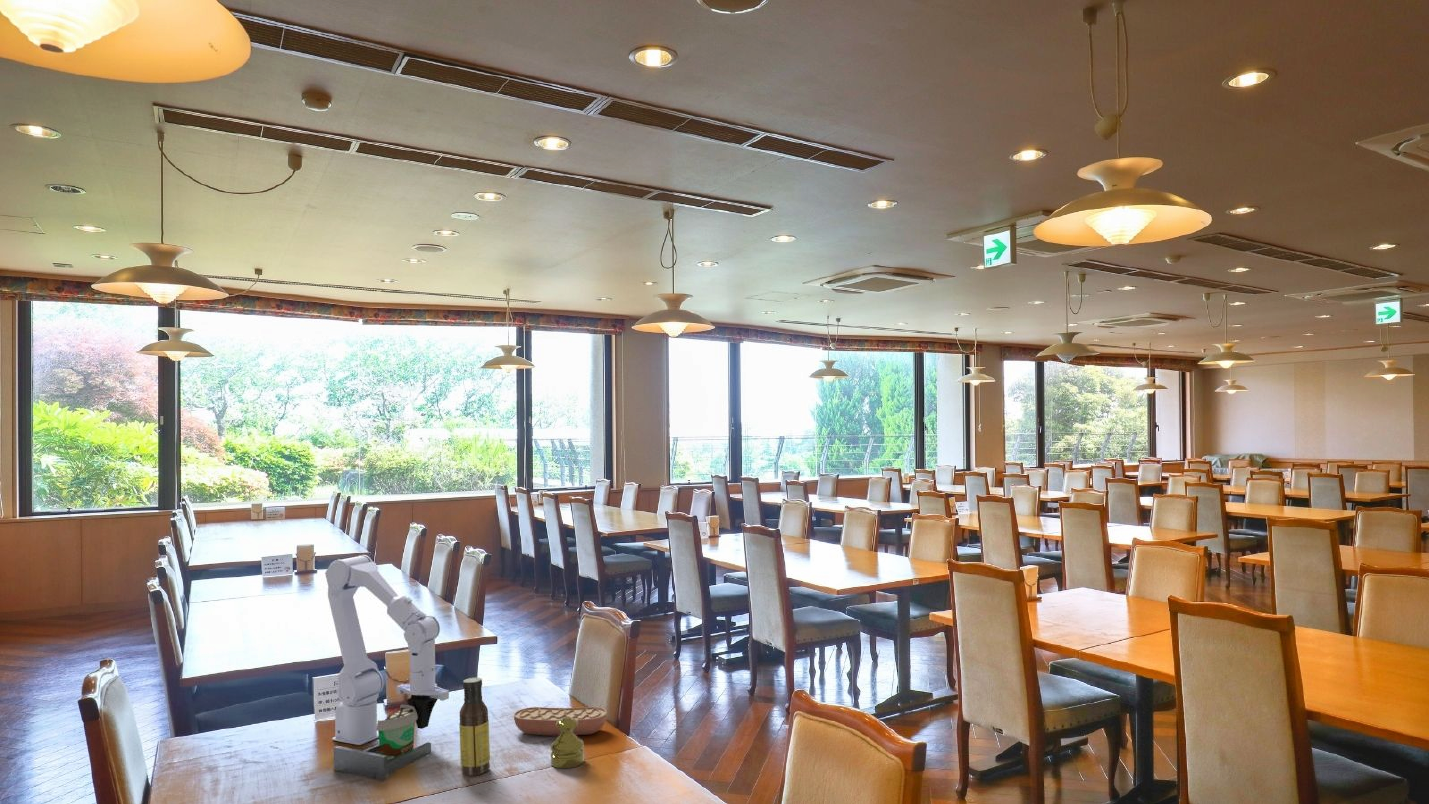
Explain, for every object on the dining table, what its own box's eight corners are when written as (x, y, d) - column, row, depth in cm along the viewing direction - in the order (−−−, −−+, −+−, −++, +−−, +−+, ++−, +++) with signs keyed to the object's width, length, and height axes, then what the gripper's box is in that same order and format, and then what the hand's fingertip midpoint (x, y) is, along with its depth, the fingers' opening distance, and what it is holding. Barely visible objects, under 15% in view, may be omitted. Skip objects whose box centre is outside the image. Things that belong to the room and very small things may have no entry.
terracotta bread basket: (609, 727, 214) (609, 707, 214) (602, 741, 204) (602, 720, 204) (520, 727, 215) (519, 706, 215) (508, 741, 205) (508, 720, 205)
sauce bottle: (490, 764, 190) (490, 674, 191) (489, 775, 184) (488, 682, 185) (460, 767, 189) (460, 676, 190) (458, 778, 183) (458, 684, 184)
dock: (333, 770, 188) (333, 747, 188) (389, 745, 203) (389, 724, 203) (383, 781, 182) (383, 757, 182) (437, 755, 196) (437, 733, 197)
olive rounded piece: (589, 758, 193) (589, 713, 193) (574, 771, 186) (573, 724, 186) (561, 755, 195) (560, 710, 196) (544, 767, 188) (543, 721, 189)
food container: (403, 766, 189) (402, 721, 190) (377, 766, 190) (376, 721, 190) (427, 746, 202) (426, 703, 202) (402, 746, 202) (401, 703, 203)
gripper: (457, 668, 203) (458, 725, 203) (412, 662, 210) (412, 718, 209) (436, 675, 197) (436, 735, 197) (390, 669, 203) (390, 727, 203)
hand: (422, 727), depth 202 cm, fingers closed
